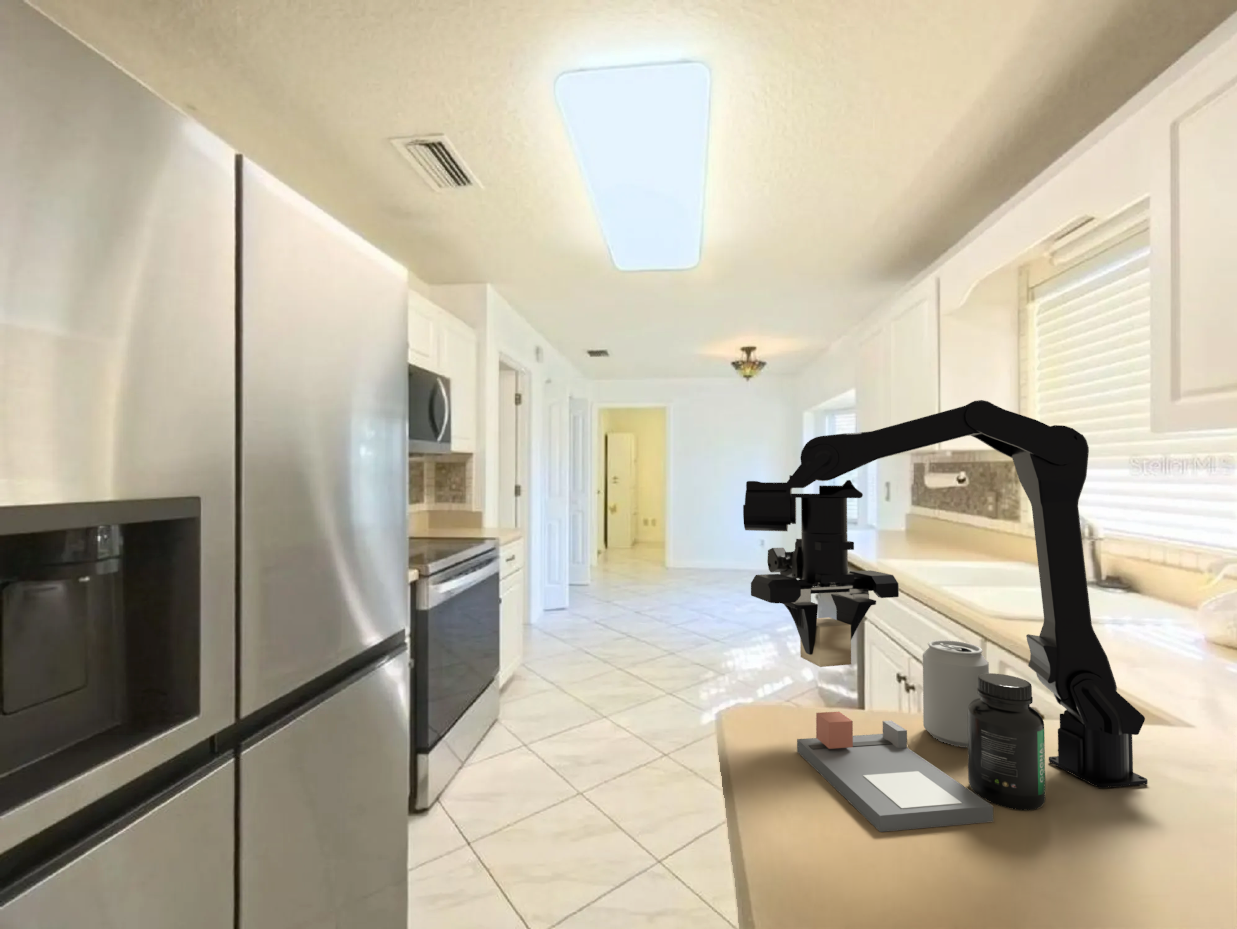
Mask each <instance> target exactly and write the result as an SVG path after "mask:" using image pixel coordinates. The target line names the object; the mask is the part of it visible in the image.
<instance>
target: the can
mask: <svg viewBox="0 0 1237 929" xmlns="http://www.w3.org/2000/svg"><path fill="white" fill-rule="evenodd" d="M927 645H928V648H927V649H926V650H925V651H924V652H923V653H922V701H923V702H922V703H923V704H922V707H923V708H922V711H923V713H922V714H923V716H922V717H923V718H922V719H923V721H922V722H923V728H924V729H925V730H926V731H927V732H928V733H929V734H930V736H931V735H932V736H933V737H932V736H931V737H932V738H933V739H935V738H936V739H935V740H937V739H938V740H937V741H939V742H941V743H943V742H944V744H946V743H948V744H947V745H949V744H951V745H950V746H953V745H954V747H958V746H960V748H968V716H967V713H968V706H969V704H970V703H971V702H972V701H973V700H975V699H977V698H980V696H979V695H978V693H977V688H978V676H979V675H980V674H985V673H990V668H989V667H990V663H989V661H988V660H987V659H986V658H985V656H984V655H983V654H982V653H983V652H984V650H983V649H982V647H980V646H978V645H975V644H973V643H968V642H964V641H959V640H958V641H957V640H950V639H949V640H948V639H936V640H935V639H933V640H930V641H929V642H928V643H927Z"/></svg>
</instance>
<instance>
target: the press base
mask: <svg viewBox="0 0 1237 929" xmlns="http://www.w3.org/2000/svg"><path fill="white" fill-rule="evenodd" d="M796 752H797V753H798V754H799V755H800V756H801V757H802V758H803V759H804V760H805V761H806V762H807V763H808V764H810V766H811V767H813V769H815V771H817V772H818V773H819V774H820V775H821V776H822V777H823V779H825V780H826V781H827V782H828V783H829V784H830V785H831V786H832V787H833V788H834V789H835V790H836V791H837V792H838V793H839V794H840V795H841V796H843V798H844V799H845V800H847V801H848V802H849V804H851V805H852V806H853V808H854V809H856V810H857V811H858V812H859V813H860V814H861V815H862V816H863V817H864V818H865V819H866V820H867V821H868V822H869V823H870V824H871V825H872V826H873V827H874V828H875V829H876V830H877V831H878V832H879V833H882V832H883V833H885V832H896V831H897V832H898V831H907V830H915V829H917V830H918V829H928V828H939V827H949V826H960V825H969V824H970V825H972V824H973V825H974V824H982V823H983V824H984V823H994V805H992V804H991V803H990V802H989V801H987V800H985V799H983V798H981V797H980V796H978V795H977V794H976V793H975V792H974V791H973V790H971V789H969V788H968V787H966V786H965V785H963V784H961V783H960V782H959V781H957V780H956V779H954V778H953V777H951V776H950V775H948V774H947V773H946V772H944V771H942V770H941V769H940V768H938V767H936V765H933V764H932V763H931V762H929V761H927V760H926V759H925V758H923V757H922V756H920V755H919V754H917V753H916V752H915V751H913V750H911V749H910V748H909V747H908V730H907V729H905V728H904V727H903V726H901V725H899V724H897V723H896V722H894V721H893V720H882V733H876V734H874V733H873V734H861V735H859V734H858V735H857V734H856V735H853V747H848V748H833V749H829V748H828V747H826V746H825V745H824V744H823V743H822V742H821V741H819V740H818V739H817V738H816V737H812V738H811V737H808V738H797V739H796Z"/></svg>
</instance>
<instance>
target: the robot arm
mask: <svg viewBox="0 0 1237 929" xmlns="http://www.w3.org/2000/svg"><path fill="white" fill-rule="evenodd" d="M968 436H969V437H970V436H971V437H972V438H975V439H977V440H979V441H980V442H982V443H983V444H985V445H987V446H988V447H990V448H991V449H992V450H995V451H997V452H998V453H1001V454H1002V455H1004V456H1007V457H1009V458H1011V459H1012V461H1013V466H1014V468H1015V471H1016V474H1017V478H1018V480H1019V482H1020V484H1021V486H1022V489H1023V490H1024V493H1025V495H1026V497H1027V498H1028V500H1029V503H1030V505H1031V506H1030V507H1031V511H1032V520H1033V521H1032V522H1033V529H1034V530H1033V531H1034V537H1035V547H1036V557H1037V566H1038V576H1039V585H1040V586H1039V587H1040V592H1041V593H1040V594H1041V603H1042V611H1043V612H1042V613H1043V624H1042V627H1041V630H1040V631H1039V635H1035V634H1029V633H1028V634H1026V642H1027V644H1028V648H1029V653H1030V658H1029V662H1028V665H1027V666H1028V667H1029V668H1030V669H1031V670H1032V671H1033V672H1034V673H1035V675H1036V677H1037V679H1038V681H1039V682H1040V683H1041V684H1042V685H1043V686H1044V687H1046V688H1047V689H1048V690H1049V692H1051V693H1052V694H1053V697H1055V700H1056V702H1057V704H1059V705H1060V706H1062V707H1063V708H1065V710H1064V711H1063V713H1059V727H1058V728H1057V756H1055V755H1054V756H1049V757H1048V762H1049V763H1050V764H1053V765H1054V766H1056V767H1059V768H1060V769H1062V770H1064V771H1066V772H1068V773H1070V774H1072V775H1073V776H1075V777H1078V778H1079V779H1081V780H1083V781H1085V782H1087V783H1088V784H1091V785H1093V786H1094V787H1097V788H1101V789H1102V788H1104V789H1105V788H1114V787H1115V788H1116V787H1117V788H1119V787H1128V786H1140V785H1148V783H1149V782H1148V779H1147V778H1146V777H1144V776H1141V775H1140V774H1138V773H1136V772H1134V763H1133V762H1134V761H1133V760H1134V758H1133V757H1134V756H1133V751H1134V750H1133V735H1134V736H1135V735H1136V736H1138V735H1139V734H1140V732H1141V730H1142V727H1143V724H1144V722H1145V721H1146V718H1145V716H1144V715H1143V714H1142V713H1141V711H1139V710H1138V709H1137V708H1136V707H1134V705H1132V704H1131V703H1130V702H1129V701H1128V700H1126V699H1125V697H1123V696H1122V695H1121V694H1120V693H1119V692H1118V687H1117V683H1116V680H1115V679H1116V678H1115V677H1114V674H1113V670H1112V668H1111V664H1110V661H1109V658H1108V656H1107V654H1106V652H1105V650H1104V648H1103V645H1102V644H1101V641H1100V640H1099V637H1098V636H1097V634H1096V632H1095V630H1094V627H1093V624H1092V617H1091V616H1092V615H1091V607H1090V606H1091V604H1090V598H1089V589H1088V581H1087V571H1086V563H1085V553H1084V545H1083V538H1082V528H1081V521H1080V512H1079V500H1080V497H1081V493H1082V491H1083V488H1084V486H1085V482H1086V478H1087V474H1088V465H1089V464H1088V463H1089V454H1090V453H1089V451H1090V450H1089V449H1090V446H1089V444H1088V441H1087V438H1086V437H1085V436H1084V435H1083V434H1082V433H1080V432H1079V431H1078V430H1076V429H1074V428H1072V427H1069V426H1067V425H1059V424H1054V425H1048V424H1046V423H1044V422H1042V421H1039V420H1037V419H1035V418H1031V417H1029V416H1026V415H1023V414H1020V413H1016V412H1013V411H1011V410H1008V409H1004V408H1002V407H1000V406H998V405H996V404H994V403H992V402H990V401H988V400H984V399H983V400H982V399H977V400H974V401H971V402H969V403H967V404H966V405H962V406H959V407H955V408H952V409H949V410H945V411H944V410H943V411H941V412H937V413H934V414H931V415H927V416H926V415H925V416H922V417H919V418H915V419H912V420H908V421H904V422H901V423H897V424H893V425H890V426H886V427H883V428H879V429H876V430H871V431H864V432H863V431H862V432H851V433H850V432H849V433H848V432H847V433H846V432H845V433H838V434H829V435H819V436H815V437H814V438H811V439H810V440H808V442H806V443H805V445H804V446H803V448H802V450H801V452H800V457H799V458H800V464H799V466H798V468H797V469H796V470H795V471H793V474H792V475H789V479H788V480H787V481H786V482H763V481H762V482H761V481H757V480H747V481H746V483H745V487H746V488H745V495H744V504H743V506H742V514H743V517H742V518H743V526H744V527H743V529H744V531H752V532H753V531H754V532H755V531H757V532H761V531H762V532H788V531H789V526H791V525H797V499H798V498H799V499H800V504H801V505H800V506H801V507H800V509H801V510H800V511H801V512H800V513H801V514H800V515H801V518H800V519H801V520H800V521H801V523H800V524H801V527H800V528H801V531H800V532H801V534H800V535H801V538H795V540H796V541H795V542H794V548H795V549H794V551H786V548H784V547H771V548H769V549H768V550H767V567H768V571H769V572H770V574H769V573H767V574H755V575H754V577H753V579H752V581H751V582H750V595H751V597H754V598H756V599H759V600H762V601H765V602H767V603H770V604H782V605H784V607H786V609H787V610H788V612H789V615H791V618H792V620H793V622H794V624H795V627H796V631H797V634H798V635H799V639H800V638H801V641H802V644H803V647H804V650H805V652H806V653H807V654H809V655H812V654H813V650H814V645H815V635H816V623H817V618H818V611H819V604H818V603H815V602H812V594H830V595H831V598H832V601H833V603H834V605H835V608H836V612H835V613H836V617H835V618H836V619H835V620H838V621H841V622H844V623H847V624H849V625H851V640H852V639H853V638H854V635H855V634H856V631H857V629H858V628H859V626H860V624H861V622H862V621H863V619H864V618H865V616H866V615H867V613H868V611H869V610H870V608H871V607H872V606H876V605H877V600H875V599H873V598H870V593H869V592H871V591H872V592H873V593H874V594H875V595H876V596H877V597H878V598H881V599H884V598H885V599H887V598H899V596H900V595H899V594H900V591H899V590H900V589H899V588H900V586H899V582H898V581H897V579H896V577H895V576H894V574H890V573H885V572H880V571H876V570H850V571H849V570H848V569H849V568H848V567H849V565H848V563H849V562H848V559H849V558H848V556H849V553H848V551H850V550H851V551H854V550H855V542H854V541H850V540H848V499H862V498H863V496H864V495H863V492H861V491H860V490H858V489H857V487H855V486H854V484H853V482H852V481H851V480H850V479H846V481H845V482H844V483H843V484H842V485H819V486H818V487H819V488H818V493H792V492H793V489H804V488H806V487H808V486H810V485H812V483H814V482H816V481H820V482H827V481H831V480H833V479H836V478H838V477H840V476H842V475H846V474H847V473H850V472H852V471H855V470H856V469H858V468H860V467H863V466H865V465H868V464H870V463H871V462H872V463H873V462H874V461H876V460H880V459H884V458H887V457H891V456H894V455H900V454H903V453H906V452H911V451H914V450H918V449H921V448H925V447H929V446H933V445H937V444H941V443H944V442H948V441H953V440H956V439H960V438H963V437H964V438H965V437H968ZM848 571H849V572H848Z"/></svg>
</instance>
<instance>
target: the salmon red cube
mask: <svg viewBox="0 0 1237 929" xmlns="http://www.w3.org/2000/svg"><path fill="white" fill-rule="evenodd" d="M815 714H816V715H815V716H816V718H815V720H816V721H815V722H816V724H815V725H816V726H815V727H816V728H815V729H816V730H815V731H816V732H815V733H816V735H815V738H817V739H818V740H819V741H821V742H822V743H823V744H824V745H825V746H826V747H828V748H829V749H833V748H848V747H853V736H854V735H853V731H854V728H853V726H854V725H853V724H854V723H853V722H854V721H853V719H851V718H850V717H847V715H845V714H844V713H842V712H840V711H825V712H821V711H820V712H816V713H815Z"/></svg>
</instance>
